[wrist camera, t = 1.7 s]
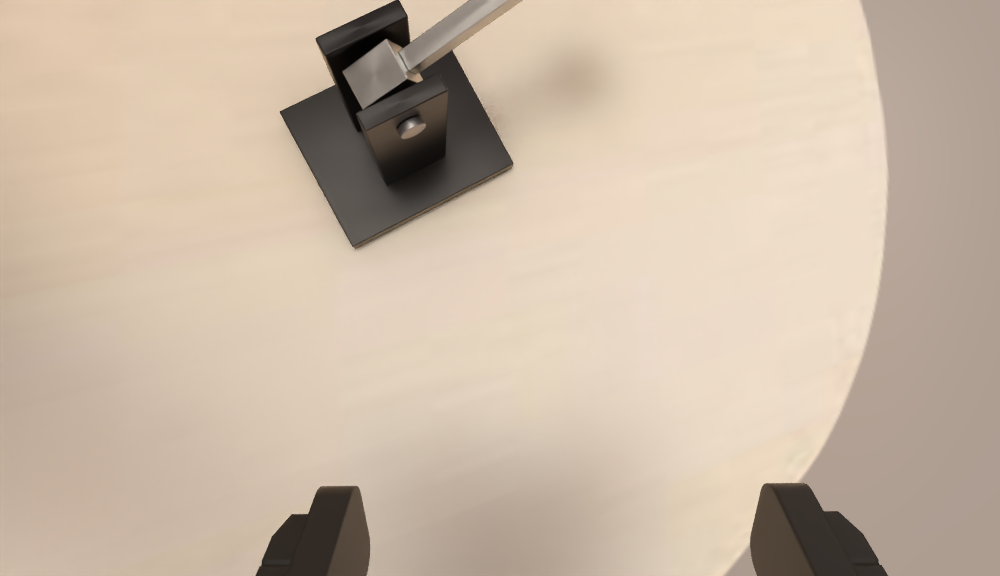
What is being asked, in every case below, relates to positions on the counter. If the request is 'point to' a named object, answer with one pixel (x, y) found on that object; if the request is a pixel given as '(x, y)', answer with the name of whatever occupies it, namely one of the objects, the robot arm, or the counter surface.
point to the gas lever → (418, 52)
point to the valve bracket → (393, 134)
